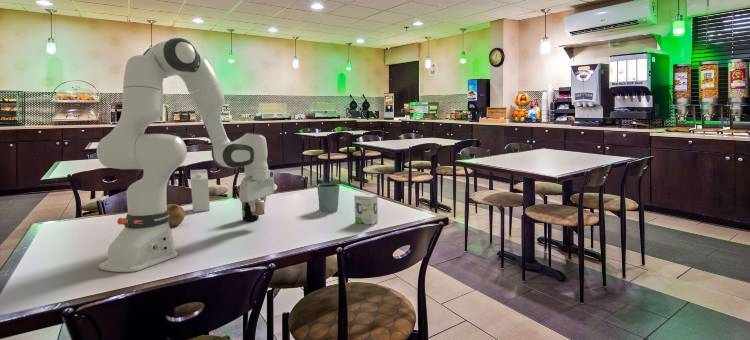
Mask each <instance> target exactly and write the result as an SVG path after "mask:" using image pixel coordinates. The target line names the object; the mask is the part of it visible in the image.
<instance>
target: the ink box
mask: <svg viewBox="0 0 750 340" xmlns="http://www.w3.org/2000/svg"><path fill="white" fill-rule="evenodd" d="M353 198H354V222H358V223H357V224H362V223H364V225H370V224H371V225H372V226H374V225H375V224H377V223H378V222H379V214H378V213H379V210H378V209H379V208H378V206H379V205H378V201H379V200H378V195H377V193H375V194H374V193H365V192H359V193H357V194H355V195H354V196H353Z"/></svg>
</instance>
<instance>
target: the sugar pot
mask: <svg viewBox="0 0 750 340" xmlns="http://www.w3.org/2000/svg"><path fill="white" fill-rule="evenodd" d="M254 204H255V206H257V208H256V209H257V210H256V211H254V212H252V215H259V216H264V215H265V208H264V200H261V199H258V200H255V203H254Z"/></svg>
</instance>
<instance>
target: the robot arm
mask: <svg viewBox="0 0 750 340" xmlns="http://www.w3.org/2000/svg"><path fill="white" fill-rule="evenodd" d="M172 76H173V77H175V76H178V77H179V78H180V79H182V81H183V82H184V85H185V86H186V90H187V91H188V93H189V97H190V98H191V100H192V103H193V104H194V106H195V108H196V109H197V111H198V114H199V116H200V118H201V119H202V122H203V124H204V128H205V130H206V133H207V135H208V138H209V141H210V143H211V145H210V146H211V158H212V161H213V162H214V164H216V165H217V166H219V167H222V168H229V169H230V168H231V169H238V168H242V167H244V177H243V178H242V180H241V181H240V184H239V194H238V196H239V201H240V202H241V203H242V202H248V203H249V205H250V207H251V212H254V211H256V210H257V209H256V208H257V206H255V204H254V203H255V200H257V199H258V200H264V209H265V207H266V204H265V203H266V201H267V197H269V196H271V195H273V194H274V191H275V180H274V177H275V172H274V171H272V170H270V169H269V164H268V155H269V154H268V144H267V139H266V137H265V136H264V135H262V134H261V133H260V134H259V133H254V132H253V133H252V132H247V133H245V134H244V135H242V136H241V137H239V138H237V139H235V140H234V141H231V140H230V139H229V138H228V136H227V133H226V129H225V128H224V124H223V121H222V118H221V116H222V110H223V108H224V106H225V102H226V99H225V95H224V90H223V88H222V86H221V83H220V80H219V78H218V76H217V75H216V72H215V71H214V69H213V67H212V65H211V64H210V62H209V61H208V60H207V59H206V58H204V57H201V55H200V54H199V53H198V50H197V48H196V47H195V46H194V44H193V43H191V42H190V40H188V39H186V38H181V37H174V38H169V39H168V40H165V41H162V42H158V43H156V44H155V45H153V46H151V47H149V48H147V49H146V50H145V51H144V53H143V54H139V55H133V56H131V57H130V58H129V59H128V60H127V62H126V65H125V70H124V75H123V83H122V85H123V86H122V90H123V91H122V107H121V108H122V109H121V113H120V118H119V120H118V122H117V123H116V124H115V126H114V128H113V129H112V130H111V131H110V132H109V133H108V134H107V135H105V136H104V137H102V138H101V139H100V141H99V142H98V144H97V147H96V156H97V159H98V161H99V162H100V164H102V166H104V167H106V168H110V169H116V170H117V169H118V170H143V176H142V177H141V178H140V179H139V180H136V181H135V182H133V183H131V184H130V185H129V186H128V187H127V189H126V204H127V205H126V206H127V213H126V216H125V217H118V218H117V220H116V223H117V224H118V225H123V227H124V228H123V229H122V230H121V231H120V233H119V234H118V235H117V236H116V237H115V238H114V239H113V241H112V242H111V243H110V244H109V246H108V247H107V248H108V249H107V259H106V260H105V261H103V262H101V263H99V264H98V269H100V270H102V271H107V272H115V273H131V272H139V271H141V270H144V269H148V268H149V267H152V266H154V265H156V264H157V265H158V264H160V263H162V262H165V261H168V260H170V259H173V258H175V257H178V256H179V254H178V251H177V250H176V249H177V248H176V247H175V242H174V236H173V232H172V229H171V226H169V223H168V221H169V211H168V209H167V205H168V204H167V187H168V183H169V180H170V177H171V176H172V174H173V173H174V172H175V170H176V169H178V168H179V167H180V166H182V164H183V163H184V162H185V161H186V158H187V154H188V150H187V149H188V148H187V145H186V143H185V141H184V140H183V138H181V137H180V136H177V135H172V134H166V133H145V131H146V130H147V128H148V127H149V126H150V125H151V124H153V123H156V122H157V121H158V120H160V119H161V117H162V116H163V112H164V111H163V110H164V106H163V105H164V99H163V98H164V87H163V82H164V79H167V78H168V77H172Z"/></svg>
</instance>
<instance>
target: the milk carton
mask: <svg viewBox="0 0 750 340" xmlns="http://www.w3.org/2000/svg"><path fill="white" fill-rule="evenodd" d="M208 175H209V174H208V169H205V168H204V169H203V168H202V169H190V187H191V203H192V211H193V213H198V212H207V211H211V206H210V192H209V191H210V188H209V177H208Z"/></svg>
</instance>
